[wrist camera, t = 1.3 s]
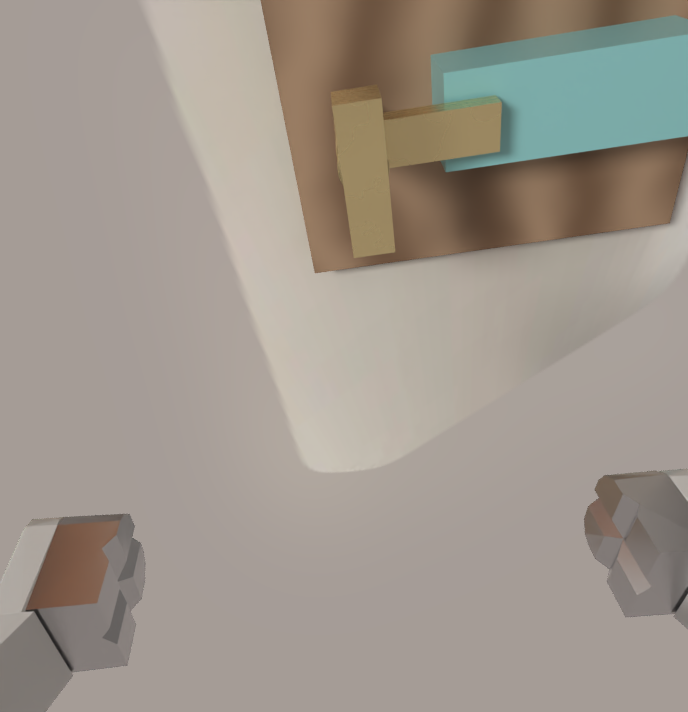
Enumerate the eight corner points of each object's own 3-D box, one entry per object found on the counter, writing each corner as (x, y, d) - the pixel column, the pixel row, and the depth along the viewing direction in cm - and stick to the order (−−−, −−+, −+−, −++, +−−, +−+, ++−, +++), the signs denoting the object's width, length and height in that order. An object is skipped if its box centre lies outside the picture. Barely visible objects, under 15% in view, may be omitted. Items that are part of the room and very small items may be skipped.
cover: (675, 15, 30) (717, 29, 27) (655, 112, 33) (690, 135, 30) (430, 54, 31) (443, 73, 27) (433, 146, 34) (445, 172, 31)
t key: (477, 26, 30) (533, 74, 22) (476, 157, 34) (522, 234, 27) (323, 52, 30) (327, 106, 23) (342, 178, 35) (349, 258, 27)
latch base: (747, -185, 26) (774, -189, 25) (655, 210, 39) (669, 223, 38) (246, -94, 28) (242, -93, 26) (314, 258, 41) (314, 273, 39)
